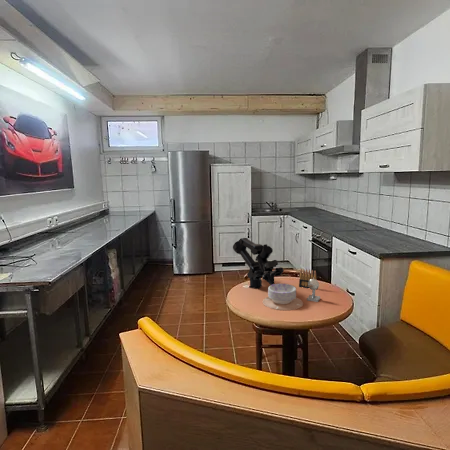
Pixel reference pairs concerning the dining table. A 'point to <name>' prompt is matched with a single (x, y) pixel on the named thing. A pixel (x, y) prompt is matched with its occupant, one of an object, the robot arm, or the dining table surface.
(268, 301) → the centring plate
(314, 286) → the dial gauge stand
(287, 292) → the white floral bowl
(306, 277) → the ammunition clip
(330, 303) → the dining table surface
